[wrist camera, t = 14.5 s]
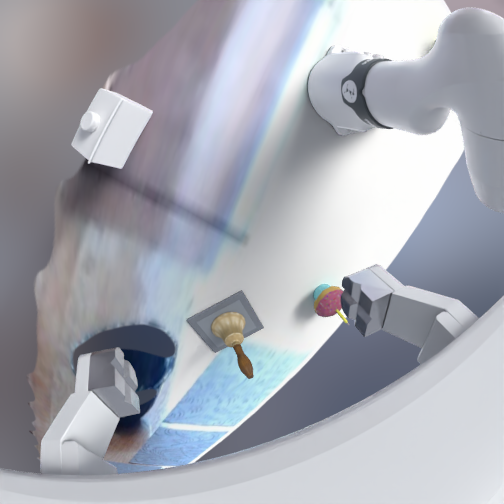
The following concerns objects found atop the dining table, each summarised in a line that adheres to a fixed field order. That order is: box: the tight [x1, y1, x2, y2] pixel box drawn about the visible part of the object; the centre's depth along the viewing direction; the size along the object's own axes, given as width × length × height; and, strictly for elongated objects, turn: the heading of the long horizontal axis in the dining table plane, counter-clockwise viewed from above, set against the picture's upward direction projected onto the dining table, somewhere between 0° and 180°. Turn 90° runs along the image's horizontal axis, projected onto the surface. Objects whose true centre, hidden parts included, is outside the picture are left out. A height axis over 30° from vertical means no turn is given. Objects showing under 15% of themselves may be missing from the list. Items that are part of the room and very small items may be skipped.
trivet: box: [187, 290, 264, 353], centre depth 66 cm, size 14×14×1 cm
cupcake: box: [314, 284, 349, 325], centre depth 66 cm, size 9×8×12 cm
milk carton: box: [71, 88, 153, 169], centre depth 31 cm, size 7×7×19 cm
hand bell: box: [211, 312, 253, 379], centre depth 59 cm, size 8×8×16 cm
